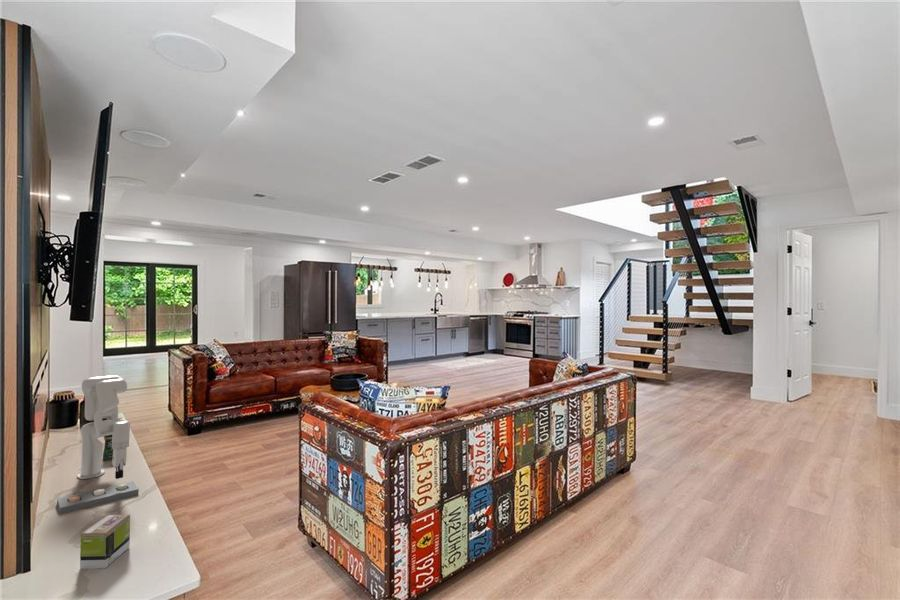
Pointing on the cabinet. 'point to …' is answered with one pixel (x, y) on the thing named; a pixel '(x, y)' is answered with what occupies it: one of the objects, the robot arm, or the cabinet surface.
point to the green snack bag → (108, 448)
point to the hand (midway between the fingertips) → (119, 477)
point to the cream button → (99, 492)
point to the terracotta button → (74, 498)
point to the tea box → (104, 541)
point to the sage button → (121, 487)
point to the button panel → (96, 497)
